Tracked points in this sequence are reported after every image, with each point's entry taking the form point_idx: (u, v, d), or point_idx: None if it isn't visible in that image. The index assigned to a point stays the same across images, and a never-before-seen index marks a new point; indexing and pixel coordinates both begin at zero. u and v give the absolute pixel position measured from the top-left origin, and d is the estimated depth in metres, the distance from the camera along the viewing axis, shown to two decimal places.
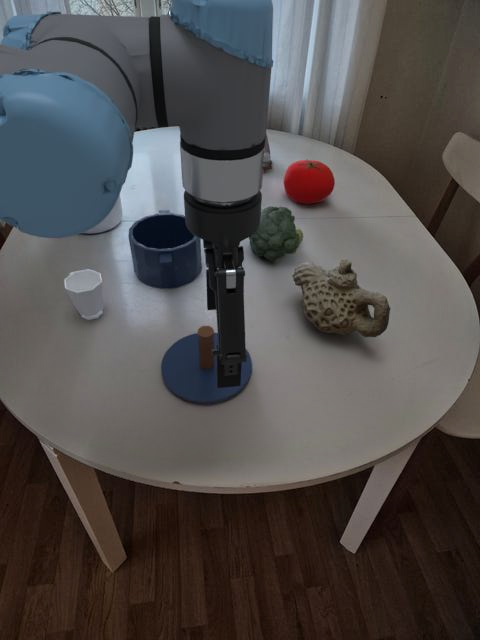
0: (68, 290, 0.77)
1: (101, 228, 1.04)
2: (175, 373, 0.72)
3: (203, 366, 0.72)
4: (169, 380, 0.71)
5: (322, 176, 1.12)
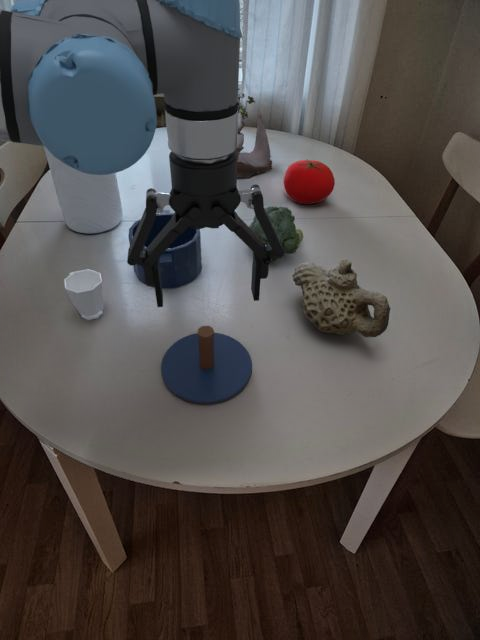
0: (68, 290, 0.77)
1: (101, 228, 1.04)
2: (175, 373, 0.72)
3: (203, 366, 0.72)
4: (169, 380, 0.71)
5: (322, 176, 1.12)
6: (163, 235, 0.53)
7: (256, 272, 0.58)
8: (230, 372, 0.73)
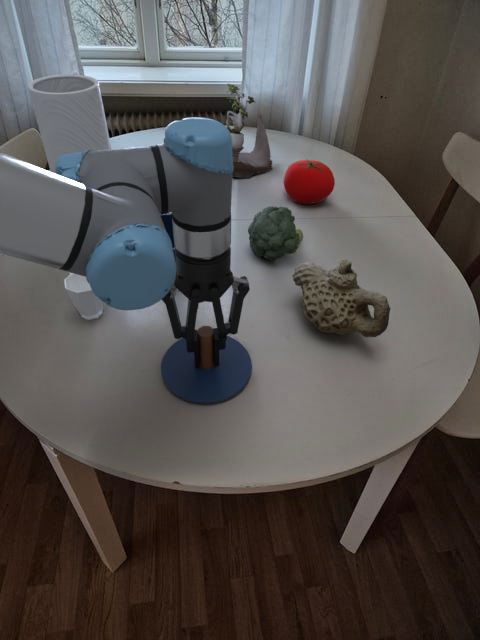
0: (68, 290, 0.77)
1: None
2: (175, 373, 0.72)
3: (203, 366, 0.72)
4: (169, 380, 0.71)
5: (322, 176, 1.12)
6: (188, 313, 0.65)
7: (215, 346, 0.69)
8: (230, 372, 0.73)
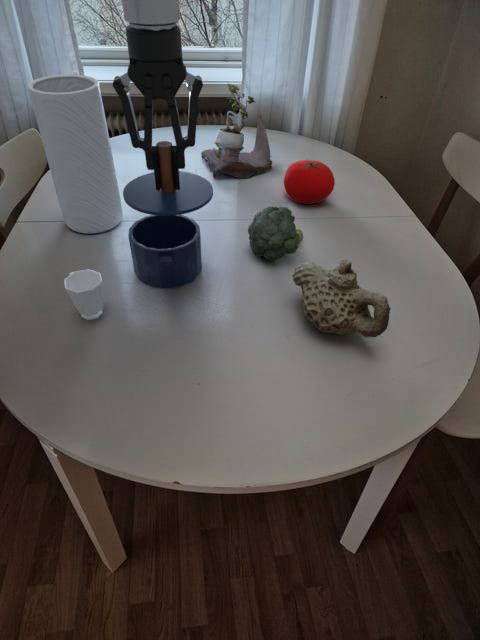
0: (68, 290, 0.77)
1: (101, 228, 1.04)
2: (136, 194, 0.74)
3: (164, 188, 0.74)
4: (130, 199, 0.72)
5: (322, 176, 1.12)
6: None
7: (174, 161, 0.70)
8: (190, 195, 0.74)
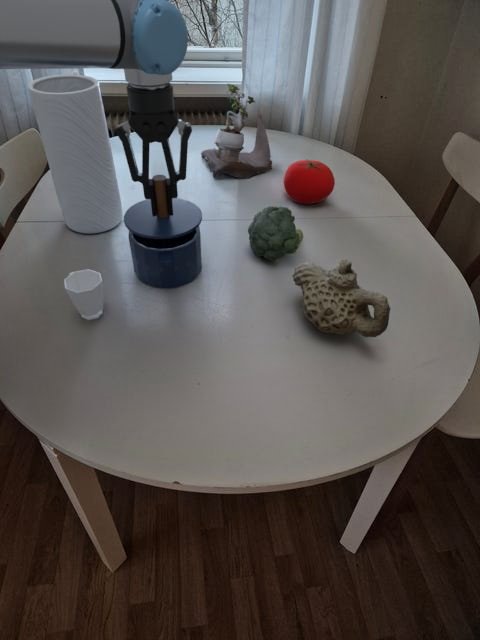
0: (68, 290, 0.77)
1: (101, 228, 1.04)
2: (135, 220, 0.85)
3: (159, 214, 0.85)
4: (130, 224, 0.84)
5: (322, 176, 1.12)
6: (142, 156, 0.77)
7: (167, 191, 0.82)
8: (182, 220, 0.85)
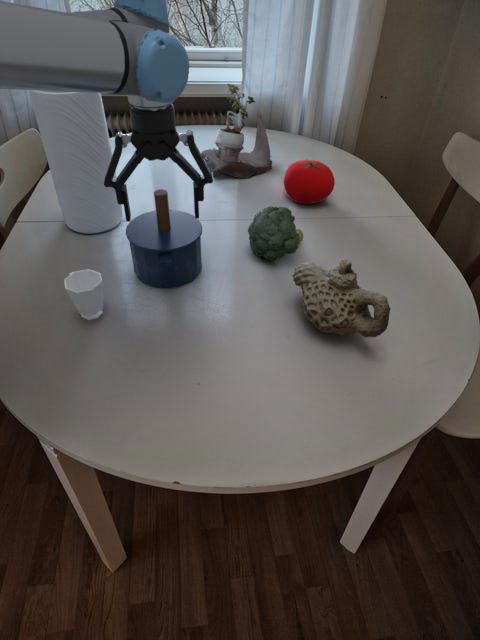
0: (68, 290, 0.77)
1: (101, 228, 1.04)
2: (137, 233, 0.87)
3: (161, 227, 0.87)
4: (132, 237, 0.86)
5: (322, 176, 1.12)
6: (128, 165, 0.78)
7: (194, 195, 0.83)
8: (183, 233, 0.87)
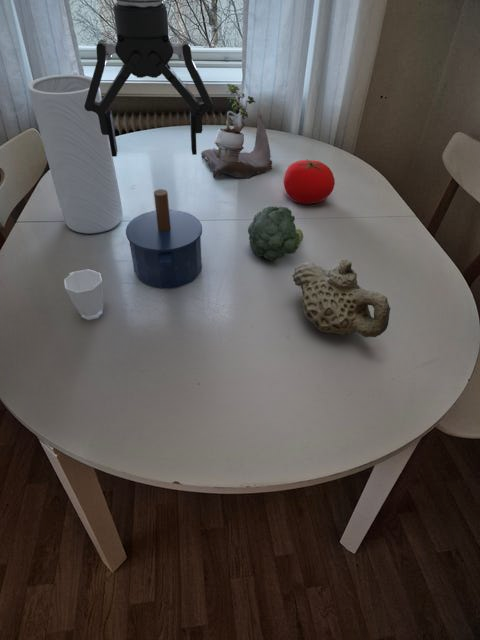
0: (68, 290, 0.77)
1: (101, 228, 1.04)
2: (137, 233, 0.87)
3: (161, 227, 0.87)
4: (132, 237, 0.86)
5: (322, 176, 1.12)
6: (113, 83, 0.66)
7: (191, 124, 0.71)
8: (183, 233, 0.87)
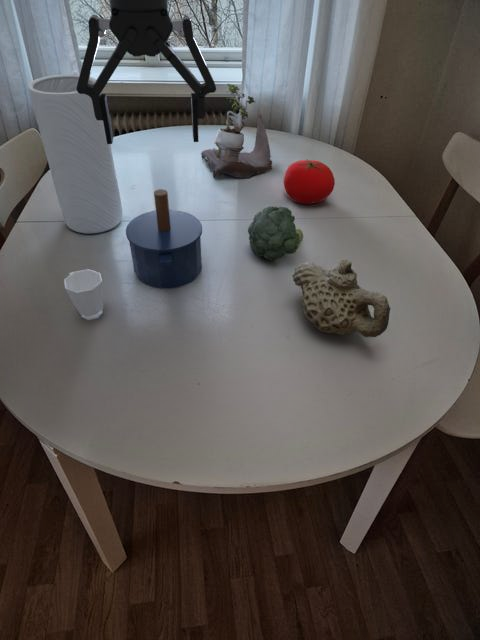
0: (68, 290, 0.77)
1: (101, 228, 1.04)
2: (137, 233, 0.87)
3: (161, 227, 0.87)
4: (132, 237, 0.86)
5: (322, 176, 1.12)
6: (107, 63, 0.61)
7: (193, 108, 0.66)
8: (183, 233, 0.87)
